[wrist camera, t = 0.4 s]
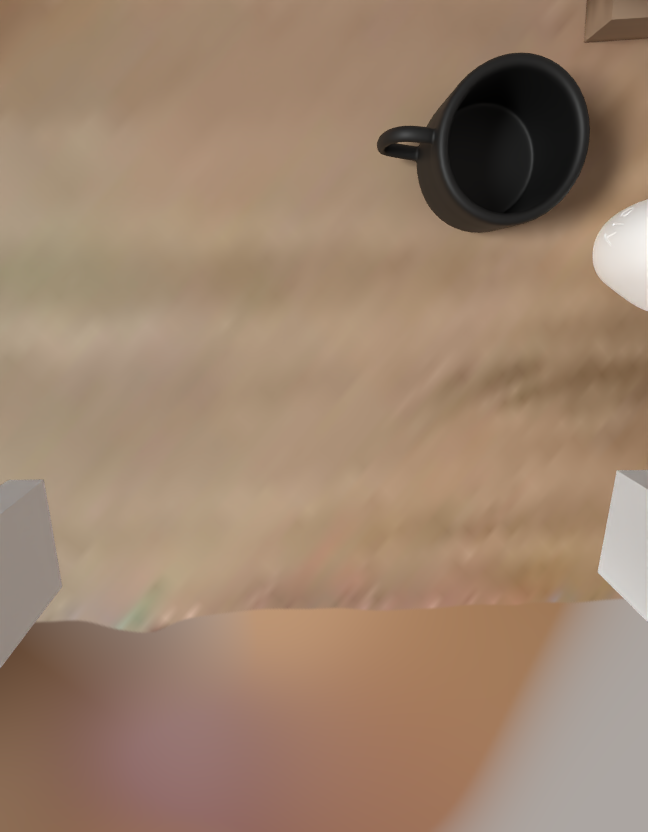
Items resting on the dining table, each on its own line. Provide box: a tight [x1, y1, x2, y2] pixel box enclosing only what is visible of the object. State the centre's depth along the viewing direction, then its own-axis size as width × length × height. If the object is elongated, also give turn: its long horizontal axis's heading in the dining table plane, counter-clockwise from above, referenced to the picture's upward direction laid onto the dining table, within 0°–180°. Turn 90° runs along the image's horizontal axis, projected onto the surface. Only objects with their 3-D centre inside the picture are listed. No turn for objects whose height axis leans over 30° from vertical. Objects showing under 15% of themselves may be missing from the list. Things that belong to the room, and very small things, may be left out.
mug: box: [377, 53, 590, 233], centre depth 31 cm, size 12×9×7 cm
